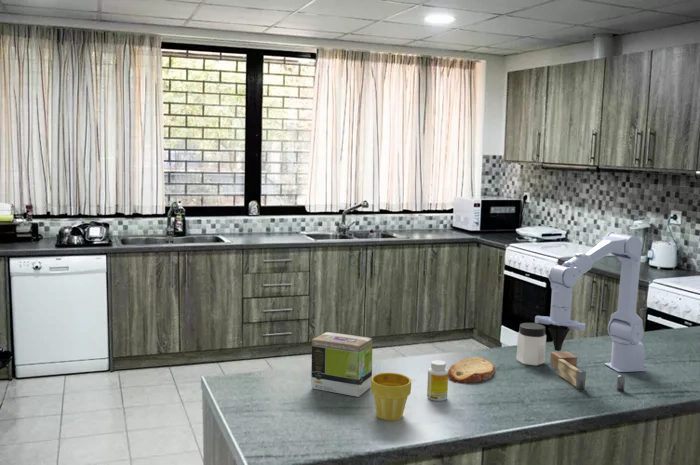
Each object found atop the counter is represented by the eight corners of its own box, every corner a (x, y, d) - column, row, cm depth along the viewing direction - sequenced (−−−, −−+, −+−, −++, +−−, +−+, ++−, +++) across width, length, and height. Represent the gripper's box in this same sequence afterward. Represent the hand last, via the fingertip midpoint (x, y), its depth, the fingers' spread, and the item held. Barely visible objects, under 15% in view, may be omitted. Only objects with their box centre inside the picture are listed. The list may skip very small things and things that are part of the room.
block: (567, 363, 216) (567, 351, 215) (576, 369, 210) (577, 357, 210) (550, 363, 215) (550, 352, 214) (558, 370, 209) (559, 357, 208)
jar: (534, 367, 210) (536, 331, 209) (512, 361, 216) (514, 325, 214) (548, 361, 216) (550, 326, 215) (526, 355, 222) (528, 321, 221)
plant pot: (416, 421, 166) (417, 384, 165) (377, 425, 163) (378, 387, 162) (401, 406, 176) (402, 370, 175) (364, 409, 173) (365, 373, 172)
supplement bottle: (451, 400, 181) (452, 364, 180) (434, 403, 178) (435, 366, 177) (439, 393, 186) (441, 358, 185) (423, 396, 183) (424, 360, 182)
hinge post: (582, 387, 193) (583, 369, 192) (586, 390, 190) (587, 372, 190) (574, 388, 192) (575, 370, 192) (578, 391, 190) (580, 372, 189)
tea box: (372, 386, 190) (373, 337, 188) (358, 398, 181) (359, 346, 179) (325, 378, 196) (326, 330, 194) (309, 389, 187) (310, 338, 185)
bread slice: (485, 362, 215) (485, 351, 214) (510, 382, 197) (511, 370, 197) (433, 365, 211) (433, 354, 210) (454, 385, 193) (454, 373, 193)
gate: (580, 386, 193) (581, 370, 192) (575, 386, 193) (576, 371, 192) (561, 373, 204) (562, 358, 203) (556, 374, 203) (557, 359, 203)
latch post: (621, 388, 193) (622, 374, 192) (625, 391, 191) (626, 376, 190) (615, 389, 192) (616, 374, 192) (619, 391, 190) (620, 377, 190)
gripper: (532, 304, 196) (529, 348, 198) (581, 312, 188) (578, 358, 190) (540, 300, 202) (537, 343, 204) (588, 307, 194) (585, 352, 196)
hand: (557, 349), depth 197 cm, fingers closed
